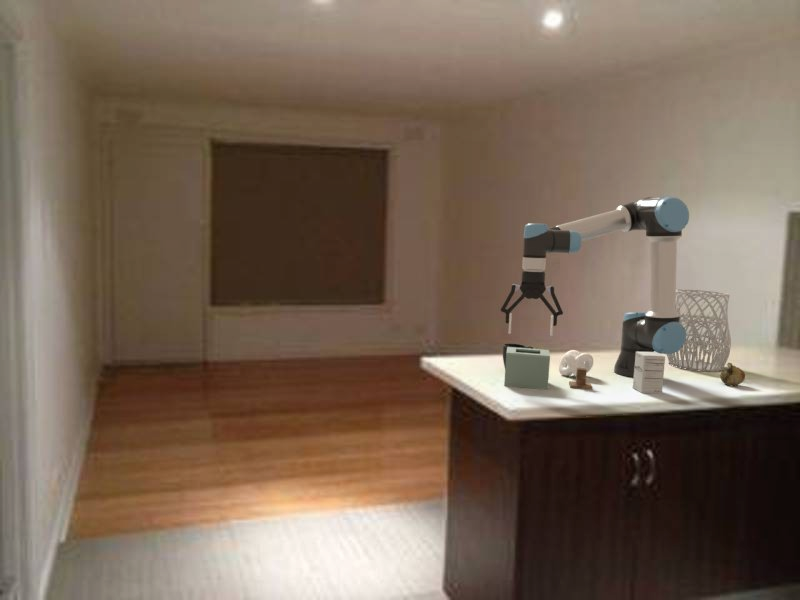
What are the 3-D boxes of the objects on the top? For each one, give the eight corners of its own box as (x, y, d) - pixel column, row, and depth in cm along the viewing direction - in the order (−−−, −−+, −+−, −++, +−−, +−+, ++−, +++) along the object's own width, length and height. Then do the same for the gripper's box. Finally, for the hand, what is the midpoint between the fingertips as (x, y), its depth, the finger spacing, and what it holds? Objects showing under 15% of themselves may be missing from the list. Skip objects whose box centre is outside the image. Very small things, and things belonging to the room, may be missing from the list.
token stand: (590, 385, 254) (591, 367, 253) (592, 389, 247) (593, 371, 246) (569, 383, 255) (570, 366, 254) (570, 387, 248) (571, 369, 247)
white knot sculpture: (589, 382, 259) (591, 356, 258) (554, 377, 263) (556, 352, 262) (593, 376, 270) (595, 351, 269) (559, 372, 274) (561, 348, 273)
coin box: (546, 381, 255) (548, 350, 254) (547, 389, 244) (550, 355, 242) (505, 378, 258) (507, 346, 256) (504, 385, 246) (506, 352, 245)
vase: (710, 375, 283) (717, 296, 280) (651, 363, 301) (658, 289, 298) (739, 369, 299) (746, 294, 296) (682, 358, 317) (688, 288, 314)
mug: (537, 373, 270) (539, 346, 269) (509, 374, 266) (510, 347, 265) (525, 368, 278) (527, 343, 277) (497, 369, 273) (499, 343, 272)
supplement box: (631, 388, 252) (635, 351, 251) (653, 388, 253) (656, 351, 252) (640, 393, 245) (644, 355, 244) (662, 393, 246) (665, 355, 244)
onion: (742, 388, 261) (744, 366, 260) (717, 385, 265) (719, 362, 264) (745, 385, 267) (747, 363, 266) (721, 381, 271) (723, 359, 270)
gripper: (571, 271, 248) (568, 334, 251) (495, 268, 252) (493, 330, 255) (573, 272, 241) (569, 338, 243) (495, 269, 245) (492, 333, 247)
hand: (530, 334), depth 249 cm, fingers open, 13 cm apart
